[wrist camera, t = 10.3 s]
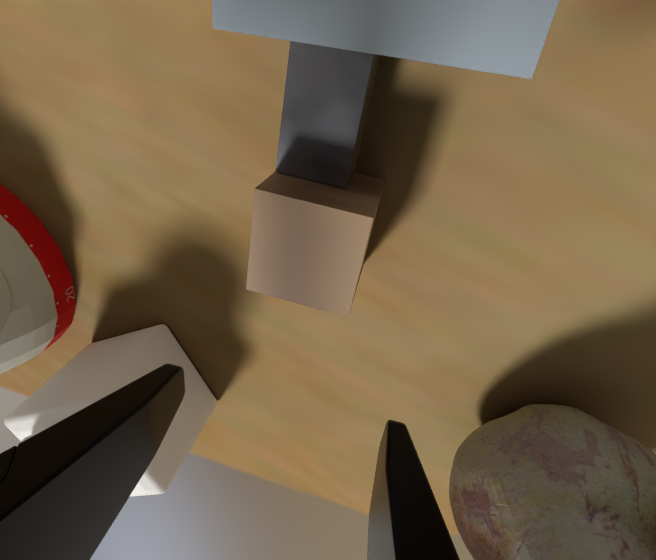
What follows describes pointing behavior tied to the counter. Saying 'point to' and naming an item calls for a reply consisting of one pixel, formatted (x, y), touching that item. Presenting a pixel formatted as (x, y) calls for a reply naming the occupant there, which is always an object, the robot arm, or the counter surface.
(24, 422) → the light grey rectangular box
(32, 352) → the kitchen timer
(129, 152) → the counter surface
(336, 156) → the bar
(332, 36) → the tunnel
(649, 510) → the grey rounded lump
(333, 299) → the block
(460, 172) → the counter surface
